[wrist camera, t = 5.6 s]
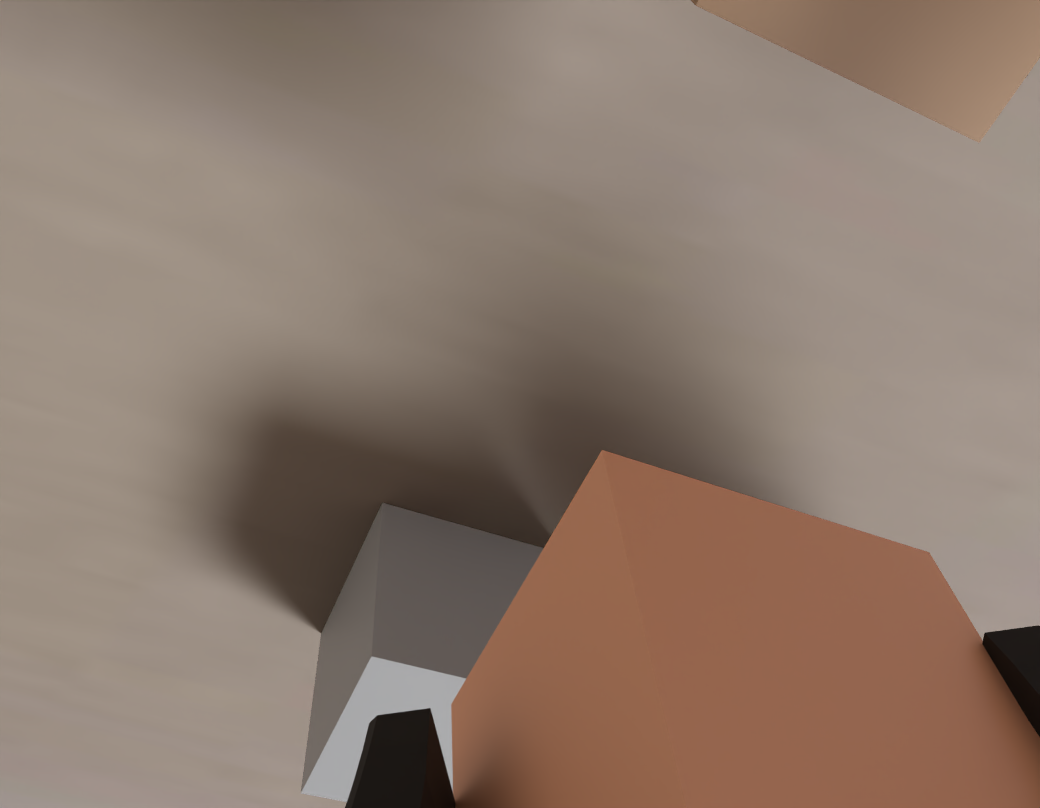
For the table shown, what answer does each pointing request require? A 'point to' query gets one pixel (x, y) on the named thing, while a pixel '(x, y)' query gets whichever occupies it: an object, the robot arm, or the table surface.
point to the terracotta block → (733, 666)
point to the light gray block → (405, 634)
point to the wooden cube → (909, 48)
